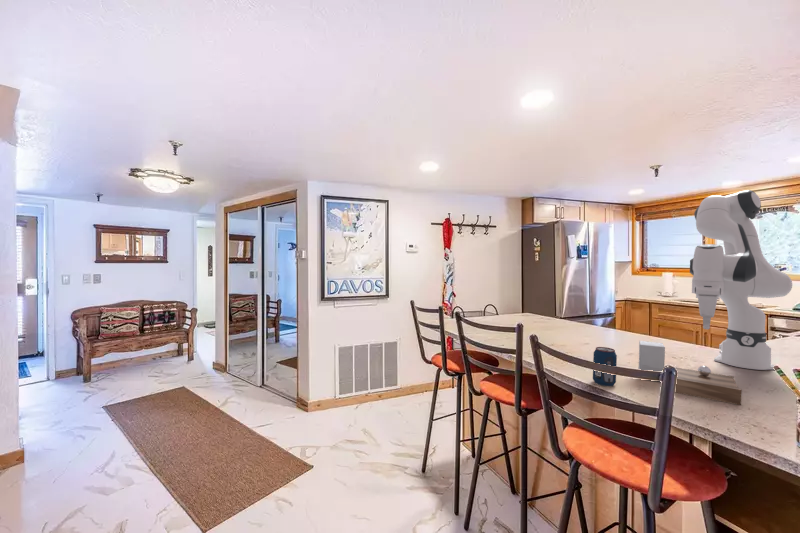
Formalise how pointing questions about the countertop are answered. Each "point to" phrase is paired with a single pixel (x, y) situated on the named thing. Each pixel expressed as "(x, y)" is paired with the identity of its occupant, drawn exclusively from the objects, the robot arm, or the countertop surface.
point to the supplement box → (651, 356)
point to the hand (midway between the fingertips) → (706, 327)
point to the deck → (708, 386)
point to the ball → (704, 371)
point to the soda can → (608, 358)
